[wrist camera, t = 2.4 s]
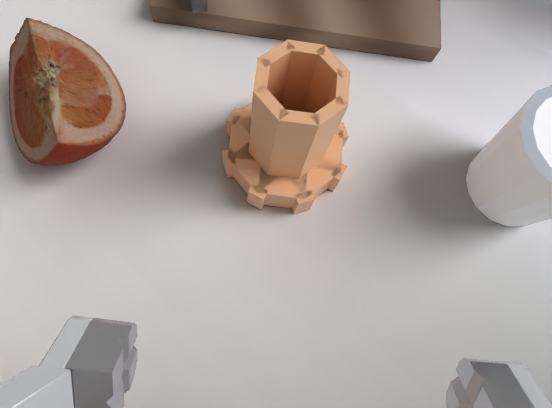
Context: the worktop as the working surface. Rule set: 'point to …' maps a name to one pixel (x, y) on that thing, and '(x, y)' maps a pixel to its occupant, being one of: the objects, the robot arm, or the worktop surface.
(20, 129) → the fruit slice
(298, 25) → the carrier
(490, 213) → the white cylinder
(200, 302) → the worktop surface
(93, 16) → the worktop surface
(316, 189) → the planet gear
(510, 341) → the worktop surface
